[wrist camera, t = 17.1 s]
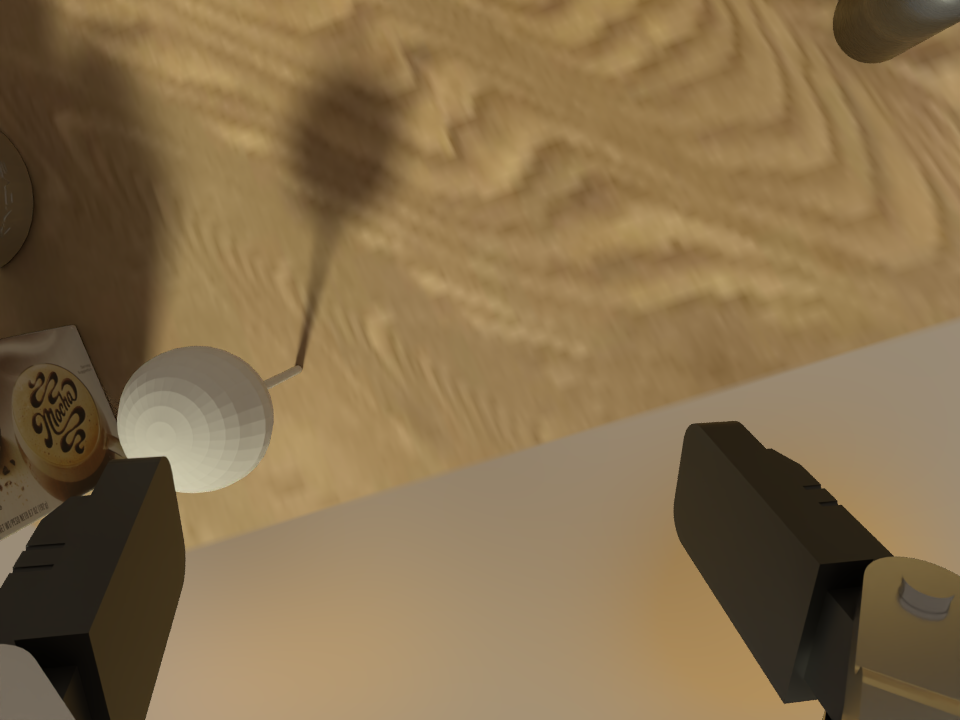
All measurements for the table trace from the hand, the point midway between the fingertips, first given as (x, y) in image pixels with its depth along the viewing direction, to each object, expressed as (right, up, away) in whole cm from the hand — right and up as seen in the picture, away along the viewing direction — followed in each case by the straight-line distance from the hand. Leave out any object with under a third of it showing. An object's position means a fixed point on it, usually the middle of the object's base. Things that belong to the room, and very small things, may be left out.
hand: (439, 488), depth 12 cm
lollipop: (-9, +2, +31) cm, 32 cm away
